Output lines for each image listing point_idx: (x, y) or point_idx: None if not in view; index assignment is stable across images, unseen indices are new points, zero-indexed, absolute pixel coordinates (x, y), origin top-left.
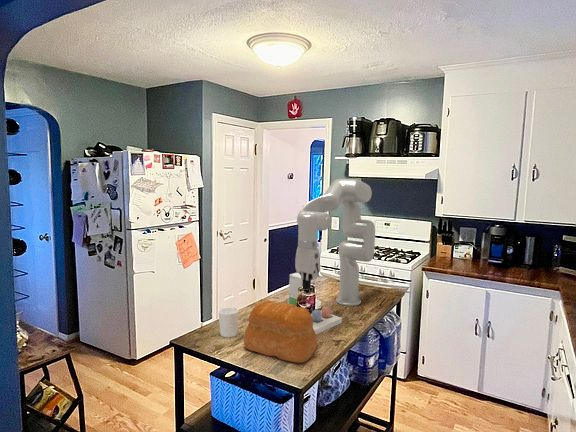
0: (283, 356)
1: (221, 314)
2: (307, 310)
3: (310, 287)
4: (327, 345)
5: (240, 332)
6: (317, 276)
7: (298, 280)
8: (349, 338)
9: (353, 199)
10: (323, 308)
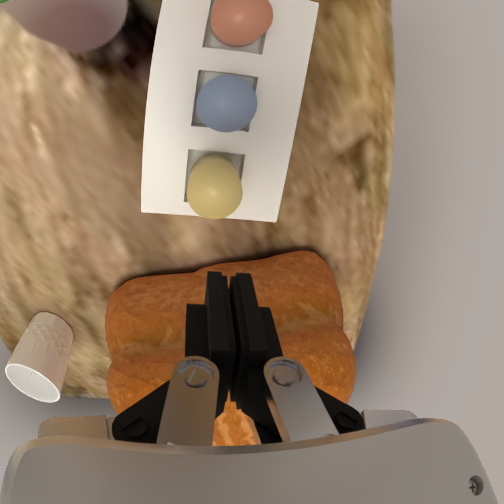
0: None
1: (46, 399)
2: (342, 388)
3: (251, 280)
4: (337, 206)
5: (57, 307)
6: (410, 417)
7: None
8: (381, 111)
9: None
10: (230, 29)
